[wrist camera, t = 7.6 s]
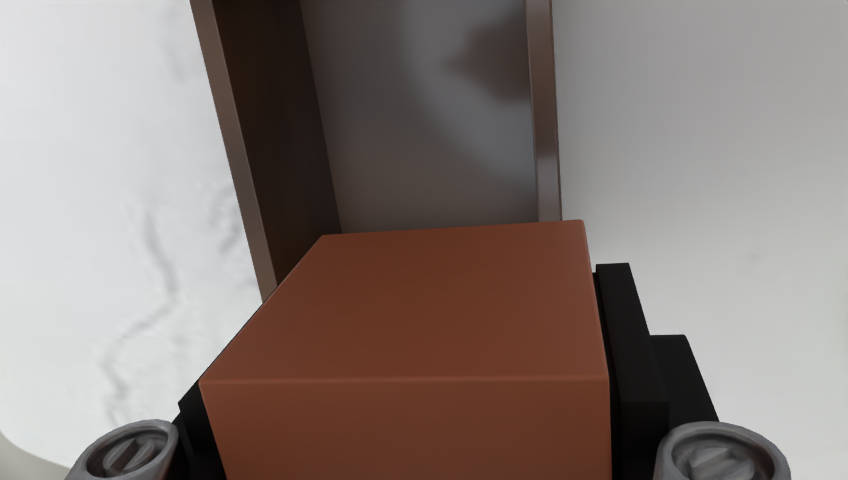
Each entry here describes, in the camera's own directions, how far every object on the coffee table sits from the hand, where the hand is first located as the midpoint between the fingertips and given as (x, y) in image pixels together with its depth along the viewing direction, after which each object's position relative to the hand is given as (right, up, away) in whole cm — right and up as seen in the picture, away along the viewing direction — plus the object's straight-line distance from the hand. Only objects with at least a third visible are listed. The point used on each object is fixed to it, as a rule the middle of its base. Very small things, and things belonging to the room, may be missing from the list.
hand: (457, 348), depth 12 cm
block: (0, 0, 0) cm, 0 cm away
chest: (0, +7, +19) cm, 20 cm away
